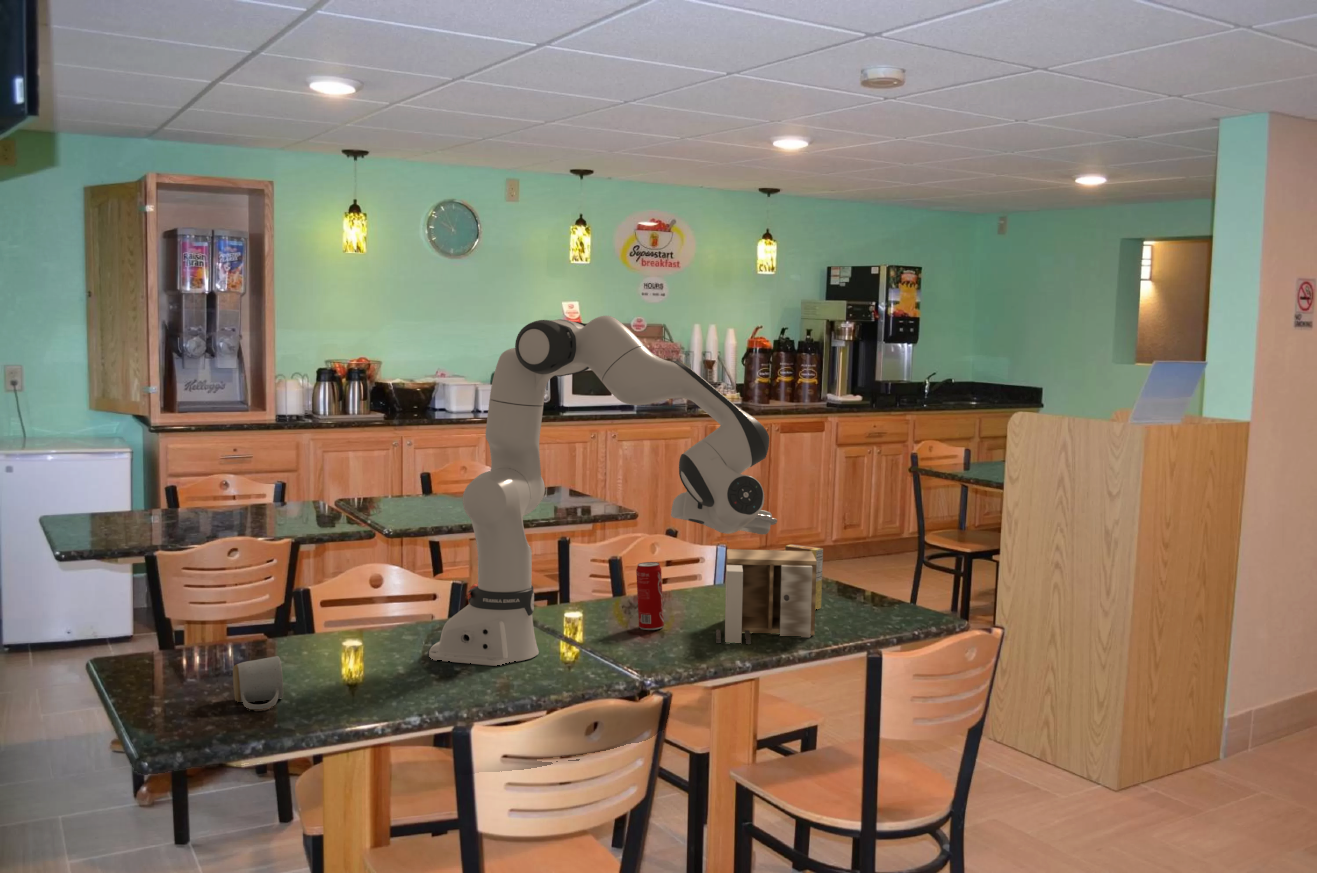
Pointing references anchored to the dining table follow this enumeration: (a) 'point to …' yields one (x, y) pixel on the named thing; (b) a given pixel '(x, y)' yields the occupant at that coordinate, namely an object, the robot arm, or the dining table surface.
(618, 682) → the dining table surface
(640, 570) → the beverage can
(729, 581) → the door
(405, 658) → the dining table surface
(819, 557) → the candy box
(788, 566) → the cabinet
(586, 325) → the robot arm
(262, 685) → the ceramic mug
